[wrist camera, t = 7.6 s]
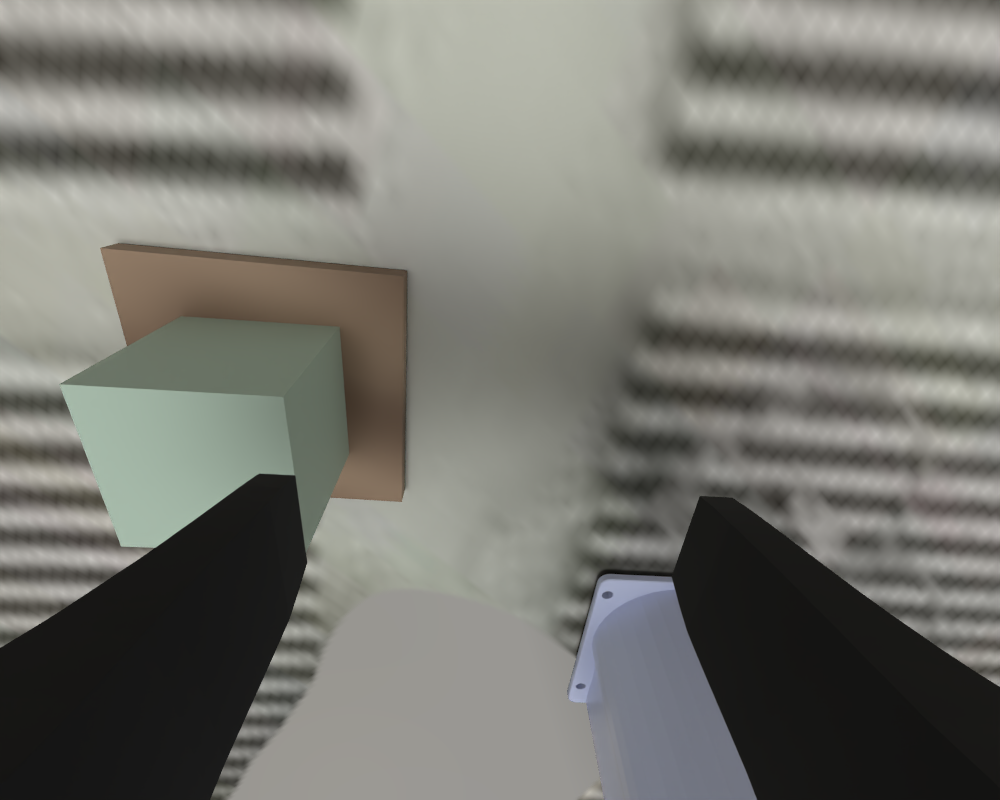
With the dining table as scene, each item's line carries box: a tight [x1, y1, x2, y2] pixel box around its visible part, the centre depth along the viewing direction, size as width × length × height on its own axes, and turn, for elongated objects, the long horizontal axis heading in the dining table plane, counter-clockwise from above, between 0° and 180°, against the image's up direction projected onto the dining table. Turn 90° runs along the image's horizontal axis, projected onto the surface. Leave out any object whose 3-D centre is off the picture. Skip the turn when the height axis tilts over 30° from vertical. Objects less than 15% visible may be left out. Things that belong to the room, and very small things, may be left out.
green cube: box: [59, 316, 349, 551], centre depth 15 cm, size 5×5×5 cm
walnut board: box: [100, 243, 407, 502], centre depth 17 cm, size 9×9×1 cm
